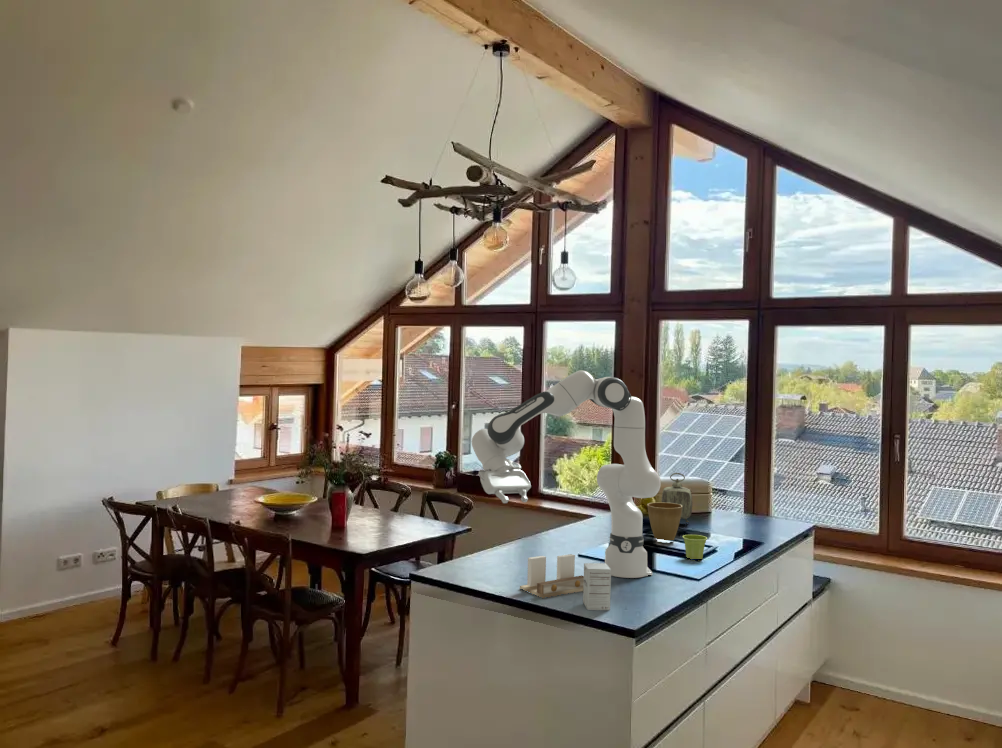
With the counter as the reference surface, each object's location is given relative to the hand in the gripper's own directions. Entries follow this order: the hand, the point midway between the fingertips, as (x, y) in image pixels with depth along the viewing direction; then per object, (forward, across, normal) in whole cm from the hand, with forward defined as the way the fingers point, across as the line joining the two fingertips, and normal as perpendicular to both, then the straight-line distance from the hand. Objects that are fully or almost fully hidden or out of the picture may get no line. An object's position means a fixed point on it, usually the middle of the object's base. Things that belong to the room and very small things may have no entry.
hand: (516, 501), depth 269 cm
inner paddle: (+29, +10, +6) cm, 31 cm away
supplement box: (+45, +1, -6) cm, 45 cm away
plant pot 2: (+31, +82, +1) cm, 87 cm away
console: (+30, +5, +8) cm, 31 cm away
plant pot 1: (+12, +100, +19) cm, 102 cm away
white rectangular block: (+26, +1, +10) cm, 28 cm away
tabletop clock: (-4, +139, +31) cm, 143 cm away
